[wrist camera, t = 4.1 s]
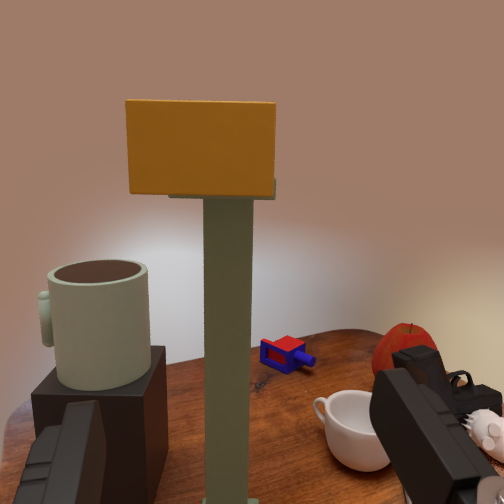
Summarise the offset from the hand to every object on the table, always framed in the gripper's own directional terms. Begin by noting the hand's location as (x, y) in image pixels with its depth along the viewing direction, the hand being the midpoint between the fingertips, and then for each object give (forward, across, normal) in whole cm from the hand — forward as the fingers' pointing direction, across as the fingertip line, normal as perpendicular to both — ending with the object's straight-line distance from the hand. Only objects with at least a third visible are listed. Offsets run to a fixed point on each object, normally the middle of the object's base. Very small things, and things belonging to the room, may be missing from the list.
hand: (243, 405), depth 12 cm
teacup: (+19, -15, +30) cm, 39 cm away
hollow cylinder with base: (+20, +9, +29) cm, 36 cm away
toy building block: (+42, -11, +33) cm, 54 cm away
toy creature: (+15, -30, +26) cm, 42 cm away
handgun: (+25, -28, +21) cm, 43 cm away
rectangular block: (+11, -1, -3) cm, 12 cm away
